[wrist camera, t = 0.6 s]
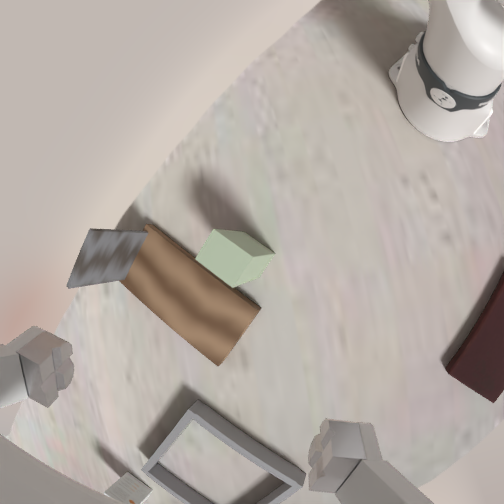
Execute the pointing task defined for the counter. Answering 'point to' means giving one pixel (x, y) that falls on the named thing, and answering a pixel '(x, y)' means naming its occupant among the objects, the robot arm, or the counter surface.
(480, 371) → the book
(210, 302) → the bookend
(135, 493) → the small box
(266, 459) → the gray square frame
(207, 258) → the sage green box
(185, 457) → the counter surface
